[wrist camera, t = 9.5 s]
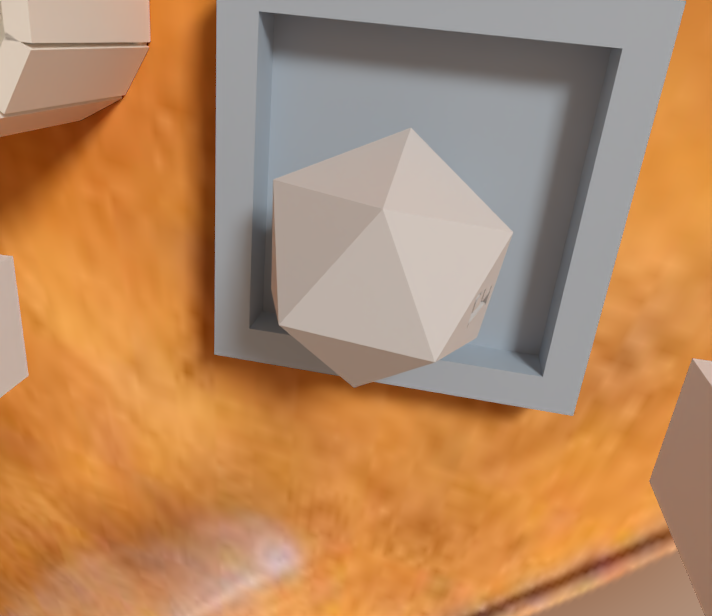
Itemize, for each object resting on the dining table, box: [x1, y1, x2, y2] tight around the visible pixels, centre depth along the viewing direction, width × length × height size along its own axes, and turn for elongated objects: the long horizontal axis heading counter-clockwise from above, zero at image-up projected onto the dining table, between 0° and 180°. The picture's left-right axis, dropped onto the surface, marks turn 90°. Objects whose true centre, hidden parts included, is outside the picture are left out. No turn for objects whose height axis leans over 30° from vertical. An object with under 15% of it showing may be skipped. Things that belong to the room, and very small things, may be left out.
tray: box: [214, 0, 686, 416], centre depth 26 cm, size 16×16×3 cm
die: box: [271, 128, 513, 387], centre depth 24 cm, size 8×9×10 cm
